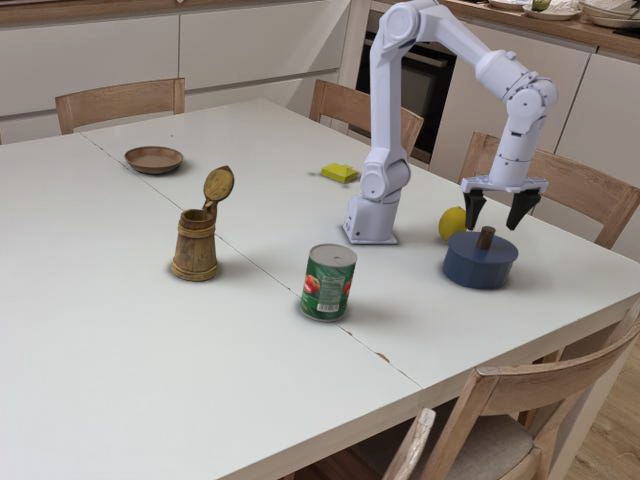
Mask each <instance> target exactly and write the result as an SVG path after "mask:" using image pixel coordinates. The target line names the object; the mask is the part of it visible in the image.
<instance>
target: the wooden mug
mask: <svg viewBox="0 0 640 480" xmlns="http://www.w3.org/2000/svg"><path fill="white" fill-rule="evenodd" d="M235 181H236V180H235V174H234V172H233V171H232V169H231V167H230V166H229V165H228V164H225V165H222V166H219V167H217V168H215V169H213V170H211V171H210V172H209V174H208V175H207V176H206V178H205V180H204V184H203V189H202V192H203V196H204V198H205V200H204V203H203V205H202V207H201V209H198V208H188V209H186V210H184V211H182V212H181V213H180V216H179V217H180V218H179V220H178V221H177V237H176V246H175V251H174V256H173V257H172V261H171V267H170V269H171V272H172V273H173V274H174V276H176V277H178V278H180V279H182V280H185V281H192V282H193V281H194V282H199V281H207V280H210V279H212V278H213V277H215V276H216V275H217V274H218V272H219V261H218V257H217V251H216V237H215V236H216V234H215V232H216V229H217V227H216V223H217V218H218V205H219V203H220V202H222V201H224V200H226V199H227V198H229V196H230V195H231V193H232V192H233V189H234V186H235Z"/></svg>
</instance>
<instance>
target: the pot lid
mask: <svg viewBox="0 0 640 480" xmlns="http://www.w3.org/2000/svg"><path fill="white" fill-rule="evenodd" d="M496 232H497V229H496V228H495V227H494V226H490V225H483V226H481V229H480V231H476V230H473V231H469V230H467V231H464V232H458V233H455V234H453V235H451V236H450V237H449V239H448V242H446V244H447V248H448V247H449V248H450V250H451V251H452V252H454V253H455V254H456V255H458V256H460V257H462V258H464V259H467V260H469V261H472V262H476V263H481V264H487V265H505V264H509V263H512V262H513V263H514V262H515V261H517V260H518V257H519V255H520V254H519V253H520V251H519V249H518V248H517V246H516V245H515V244H514V243H512V242H511V241H509V240H508V239H505V238H504V237H502V236H499V235H495V234H496Z"/></svg>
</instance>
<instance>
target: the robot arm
mask: <svg viewBox="0 0 640 480" xmlns="http://www.w3.org/2000/svg"><path fill="white" fill-rule="evenodd" d="M378 23H379V28H378V30H377V33H376V35H375V37H374V39H373V42H372V45H371V47H370V50H369V76H370V77H369V78H370V79H369V80H370V81H369V83H370V86H369V87H370V89H369V90H370V140H371V141H370V142H371V143H370V147H371V149H370V151H369V153H368V155H367V156H366V157H365V160H364V162H363V171H362V175H361V177H360V180H359V188H360V191H361V193H359V194H358V193H357V194H353V195H351V196H350V197H349V199H348V203H347V208H346V213H345V217H344V223H343V225H342V229H343V230H344V232H345V234H346V236H347V238H348V240H349V242H350V243H351V244H352V245H380V244H381V245H396V244H397V243H398V241H397V240H398V239H396V238H395V236H394V234H393V229H394V226H395V225H394V224H395V221H396V216H397V213H398V208H399V204H400V200H401V197H402V190H403V188H404V187H406V186H407V185H408V184H409V182H410V181H411V178H412V169H411V166H410V163H409V161H408V152H407V151H406V149H405V148H404V147H403V145H402V59H403V57H404V56H405V55H406V54H407V53H408V52H409V50H410V49H412V48H413V46H414V45H415V44H416V43H418V42H422V43H423V42H425V43H427V42H429V43H430V42H438V43H439V44H441V45H442V46H444V47H445V48H446V49H448V50H449V51H451V52H452V53H453V54H455V55H456V56H457V57H458V58H460V59H462V60H463V61H464V62H466V63H467V64H468V65H470V67H472V68H474V70H475V80H476V82H477V83H479V84H480V85H482V86H483V87H484V88H485V89H486V90H487V91H489V92H490V93H491V94H492V95H493V96H494V97H496V98H497V99H498V100H499V101H500V102H502V103H503V104H504V105H506V113H507V115H508V118H507V121H506V124H505V126H504V128H503V132H502V134H501V138H500V141H499V144H498V147H497V149H496V153H495V156H494V159H493V161H492V165H491V168H490V171H489V174H485V175H478V176H473V177H463V178H462V179H461V183H460V186H459V188H460V190H461V191H462V195H463V200H464V206H465V211H466V221H465V227H466V228H467V231H474V229H475V228H476V225H477V221H478V219H479V216H480V213H481V212H482V209H483V208H484V206H485V205H486V203H487V201H488V200H487V199H486V197H484V195H485V194H484V192H506V193H509V194H513V197H512V203H511V207H510V210H509V213H508V215H507V218H506V222H505V227H506V228H507V229H508V230H509V231H511V232H512V231H515V230H516V228H517V227H518V225H519V224H520V223H521V221H522V220H523V218H524V217H525V216H526V215H527V214H528V213H529V212H530V211H531V210H532V209H533V208H534V207H535V206H536V205H538V204H539V203H540V202H541V200H542V196H541V194H545V193H546V192H547V189H548V186H549V184H550V183H549V181H548V180H547V179H546V178H544V177H533V176H527V175H528V172H529V169H530V167H531V164H532V161H533V158H534V155H535V153H536V151H537V147H538V145H539V142H540V139H541V136H542V133H543V129H544V126H545V123H546V121H547V119H548V118H547V117H548V115H547V114H548V113H549V112H551V111H552V110H553V109H554V108H555V107H556V106H557V103H558V101H559V95H560V93H559V92H560V91H559V88H558V86H557V85H556V84H555V82H554V81H553V79H551V78H549V77H539V76H540V74H539V73H538V72H537V71H536V70H533V71H531V70H529V69H528V68H527V67H526V66H524V64H522V63H521V62H520V61H518V60H517V59H516V58H517V57H518V54H517V53H516V52H514V51H513V50H510V51H506V50H505V49H497V50H491V49H490V48H489V47H488V46H487V45H486V44H485V43H483V42H482V41H481V40H480V39H479V38H478V37H477V36H476V35H475V34H474V33H473V32H472V31H471V30H470V29H468V27H466V26H465V25H464V24H463V23H462V22H461V21H460V20H459V19H458V18H457V17H456V16H455V15H454V14H453V13H452V12H451V10H450V9H449V7H448V6H446V5H444V4H440V2H439V1H438V0H408V1H403V2H402V1H401V2H397V3H395V4H393V5H392V6H391V7H390V8H389V9H388V10H387V11H386V12H385V13H384V14H383V15H382V16H381V17H380V18H379V21H378Z"/></svg>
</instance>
